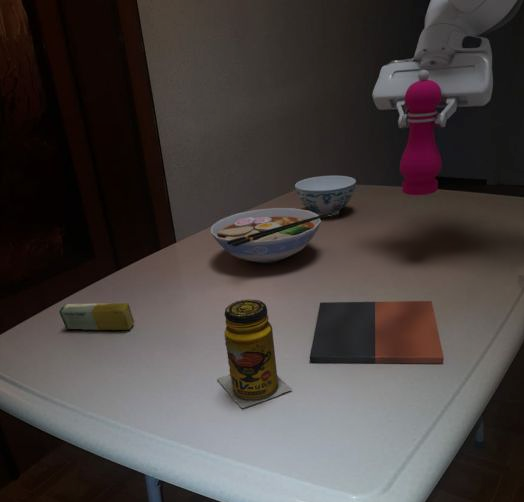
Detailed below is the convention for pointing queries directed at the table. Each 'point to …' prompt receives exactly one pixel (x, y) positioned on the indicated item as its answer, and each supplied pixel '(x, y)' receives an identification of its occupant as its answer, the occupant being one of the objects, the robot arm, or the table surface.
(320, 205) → the chinaware
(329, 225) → the table surface
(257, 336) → the condiment
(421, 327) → the sorting board
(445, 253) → the table surface
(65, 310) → the medication box
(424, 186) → the pepper mill
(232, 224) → the ramen bowl
